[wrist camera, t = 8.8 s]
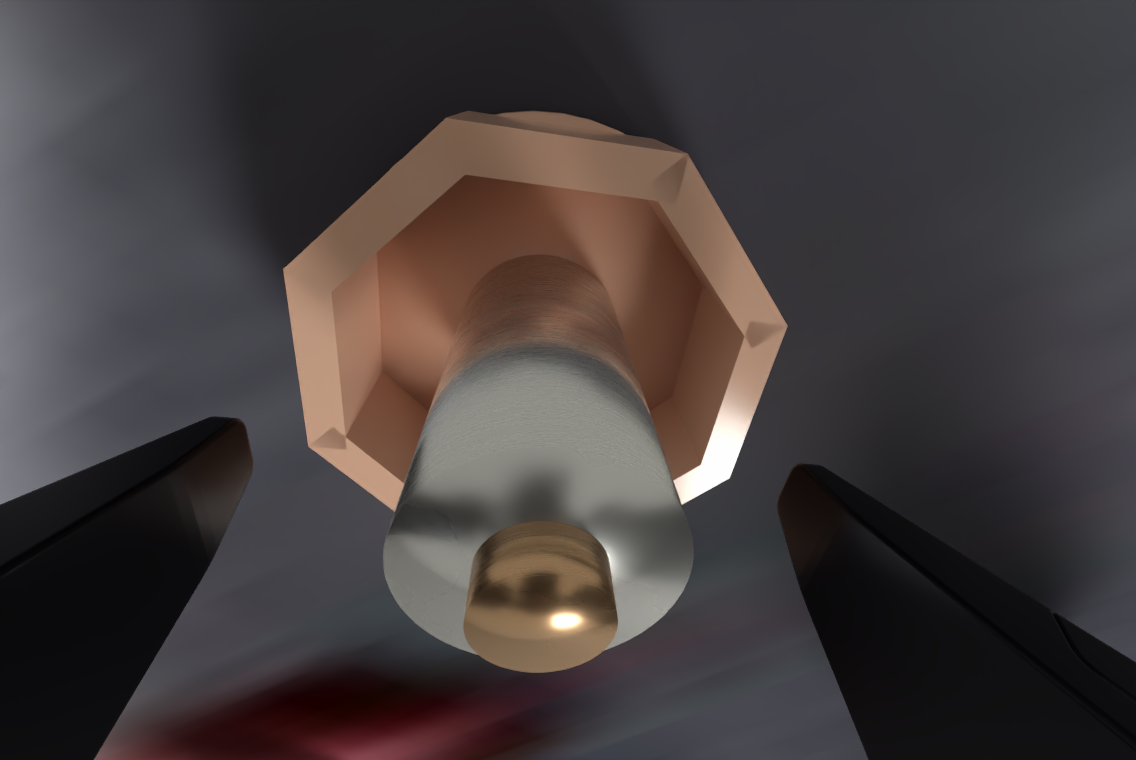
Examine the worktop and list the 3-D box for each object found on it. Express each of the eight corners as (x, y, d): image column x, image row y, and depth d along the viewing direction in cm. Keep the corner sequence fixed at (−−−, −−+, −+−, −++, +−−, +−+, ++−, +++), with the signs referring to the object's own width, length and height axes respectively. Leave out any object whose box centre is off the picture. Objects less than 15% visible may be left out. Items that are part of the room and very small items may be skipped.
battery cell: (630, 265, 12) (759, 513, 5) (602, 401, 14) (666, 722, 7) (464, 244, 12) (351, 485, 5) (459, 388, 14) (372, 716, 7)
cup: (767, 144, 12) (859, 166, 9) (670, 467, 17) (703, 564, 14) (334, 76, 11) (241, 72, 8) (362, 444, 16) (314, 543, 12)
